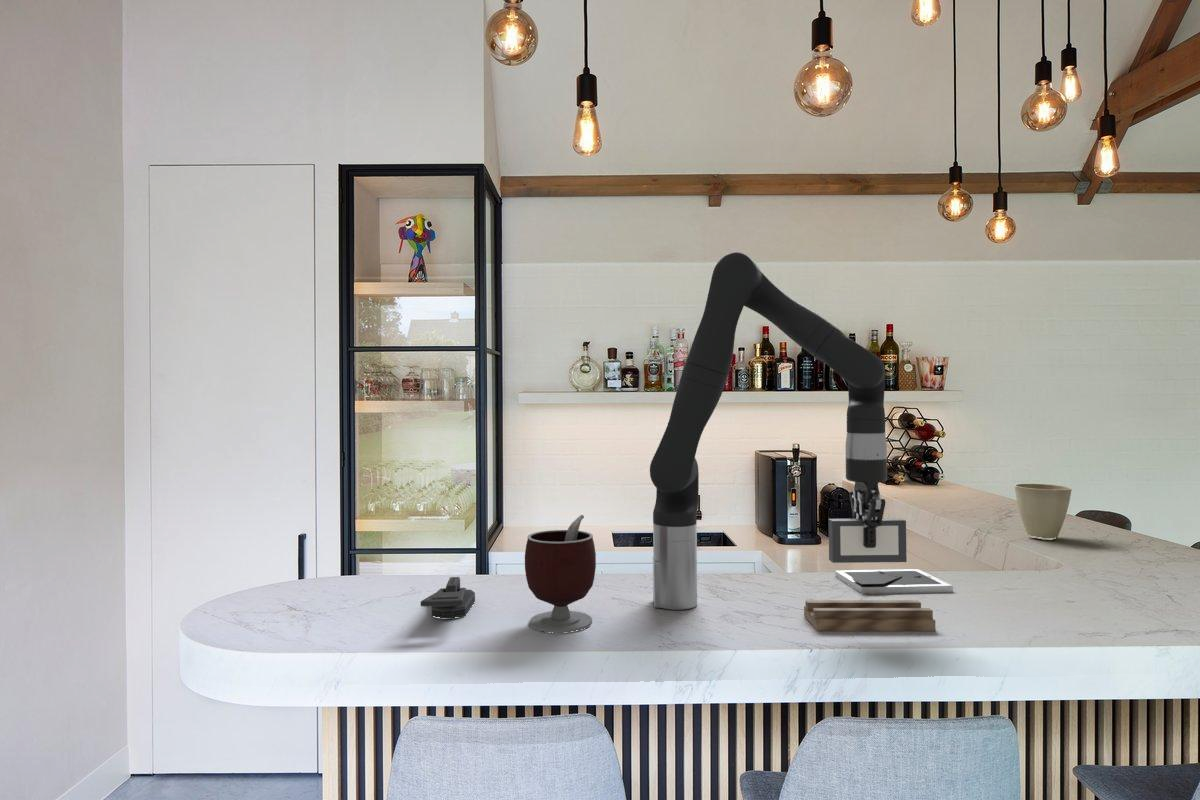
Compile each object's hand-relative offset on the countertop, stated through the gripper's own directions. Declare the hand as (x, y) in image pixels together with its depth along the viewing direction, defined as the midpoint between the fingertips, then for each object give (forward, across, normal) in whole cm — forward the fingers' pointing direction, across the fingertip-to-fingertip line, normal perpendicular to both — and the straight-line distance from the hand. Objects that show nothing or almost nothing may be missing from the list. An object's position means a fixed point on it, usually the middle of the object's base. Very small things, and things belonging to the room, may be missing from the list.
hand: (866, 545), depth 138 cm
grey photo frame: (+3, 0, 0) cm, 3 cm away
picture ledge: (+15, 0, 0) cm, 15 cm away
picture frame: (+16, +30, -16) cm, 37 cm away
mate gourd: (+15, +1, +59) cm, 61 cm away
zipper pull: (+15, +5, +83) cm, 84 cm away
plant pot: (+15, +83, -82) cm, 118 cm away
